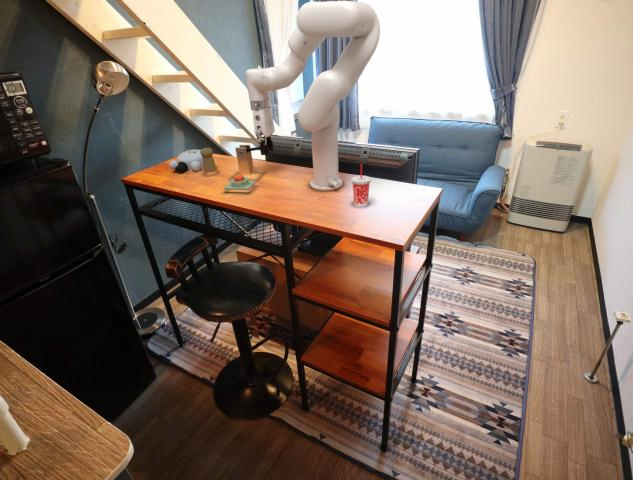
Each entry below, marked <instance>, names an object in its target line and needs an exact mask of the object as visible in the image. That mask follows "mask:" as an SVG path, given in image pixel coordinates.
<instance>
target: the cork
mask: <svg viewBox="0 0 633 480" xmlns="http://www.w3.org/2000/svg"><path fill="white" fill-rule="evenodd" d="M200 150H201V151H200V154H201V156H202V157H203V166H204V167H203V172H204V173H214V172H216V171H218V168H217V164H216V162H215V160H214V156H213V155H214V151H213V149H212V148H210V147H204V148H201V149H200Z"/></svg>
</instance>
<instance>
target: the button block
mask: <svg viewBox="0 0 633 480" xmlns="http://www.w3.org/2000/svg"><path fill="white" fill-rule="evenodd" d="M256 183H257V181H256V180H249V178H248V177H246V176H244V181H240V182H235V180H234V177H233V178H231V179H230V181H229V183H227V184H226V185H225V186H224V187H223V190H225V191H224V194H242V195H243V194H245V195H249V194H251V192H249V191H250V190H251V189H252V188H253V187H254V185H255V184H256ZM243 191H245V192H243Z"/></svg>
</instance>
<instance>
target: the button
mask: <svg viewBox="0 0 633 480" xmlns="http://www.w3.org/2000/svg"><path fill="white" fill-rule="evenodd" d="M244 177H245V175H240V174H236V175H234V176H233V178H234V180H235V182H240V181H244Z"/></svg>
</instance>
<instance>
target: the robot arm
mask: <svg viewBox="0 0 633 480" xmlns="http://www.w3.org/2000/svg"><path fill="white" fill-rule="evenodd" d="M296 25H297V27H296V29H295V30H294V31H293V32H292V34H291V35H290V36H289V38H288V40H287V41H288V42H287V45H288V47H289V49H290V52H289V53H288V55H287V57H286V58H285V59H284V61H283V62H282V63H281V64H280V65H275V66H271V67H265V68H263V67H256V68H255V67H254V68H249V69H247V70H246V71H245V81H246V87H247V93H248V99H249V106H250V111H252V121H253V128H254V134H255V137H256V141H257V142H258V145H259V147H260V150H259V151H260V152H259V153H260V156H269V155H270V152H273V151H274V150H275V149H274V144H273V143H274V141H273V134H274V133H275V131H276V129H275V123H274V118H273V113H272V106H271V99H270V92H275V91H279V90H282V89H285V88H288V87H290V86H291V85H292V84H293V83H294V82H295V81H296V80H298V77H300V76H301V74H302V73H303V71H304V70H305V68H306V65H307V64H308V61H309V58H310V57H311V56H312V55H313V54H314V52H316V51H317V49H318V48H319V46H320V45H321V44H323V42H324V41H325V40H326V38H350V40H349V42H348V43H347V45H346V46H345V47H344V48H343V50H342V52H340V55H339V58H338V59H337V61H336V62H335V63H334V66H332V68H331V69H328V70H325V71H323V72H320V73H319V74H318V75H317V76H316V78H314V80H313V81H312V83H311V84H310V87H309V88H308V90H307V93H305V94H306V95H305V96H304V98H303V100H302V102H301V104H300V106H299V108H298V112H297V121H298V125H299V126H300V128H301V129H303V130H304V131H306V132H309V133H311V156H312V171H313V172H312V173H313V179H311V180H310V181H309V185H310V186H309V187H310V188H312V189H314V190H316V191H334V190H337V189H339V188H341V187H342V186H343V184H344V182H343V179H341V177H340V176H341V175H340V174H339V173H340V172H339V124H340V123H339V122H340V108H339V105H338V102H340V101H343V100H345V99H346V98H347V97H349V96H350V95H351V92H352V91H353V89H354V87H355V85H356V84H357V82H358V81H359V79H360V77H361V76H362V74H363V72H364V70H366V67H367V65H368V64H369V63H370V61H371V58H372V57H373V55H374V53H375V51H376V50H377V48H378V44H379V42H380V36H381V23H380V20H379V17H378V14H377V13H376V11H375V9H374V8H373V7H372V6H371V5H370V4H368V3H366V2H362V1H355V0H331V1H330V0H329V1H308V2H305V3H304V4H302V5H301V7H300V8H299V9H298V12H297V14H296ZM267 144H269V146H270V147H269V148H268V145H267Z"/></svg>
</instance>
